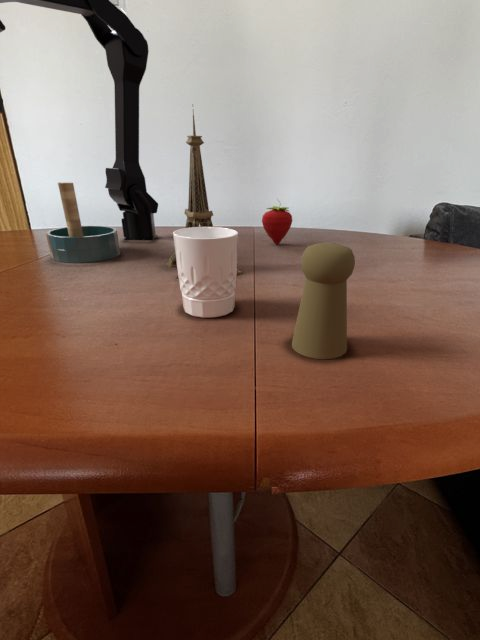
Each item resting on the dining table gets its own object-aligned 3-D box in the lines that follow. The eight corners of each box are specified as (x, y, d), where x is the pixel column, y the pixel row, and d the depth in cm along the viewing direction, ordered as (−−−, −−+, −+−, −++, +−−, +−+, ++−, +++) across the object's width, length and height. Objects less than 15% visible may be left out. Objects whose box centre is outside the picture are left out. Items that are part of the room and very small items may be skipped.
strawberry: (256, 243, 89) (256, 197, 84) (281, 240, 92) (283, 196, 88) (270, 248, 84) (272, 200, 80) (296, 244, 88) (299, 199, 83)
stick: (96, 254, 73) (83, 182, 67) (88, 260, 70) (73, 183, 64) (73, 254, 73) (58, 181, 67) (63, 260, 69) (46, 183, 63)
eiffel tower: (241, 273, 66) (240, 103, 54) (184, 281, 61) (169, 97, 49) (216, 260, 74) (210, 109, 62) (163, 266, 69) (147, 104, 57)
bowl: (128, 250, 79) (124, 226, 77) (109, 266, 68) (104, 237, 66) (68, 250, 79) (63, 225, 76) (40, 265, 68) (33, 236, 65)
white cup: (247, 303, 53) (247, 229, 48) (224, 324, 46) (221, 240, 42) (196, 296, 55) (192, 224, 50) (167, 314, 48) (159, 234, 44)
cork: (287, 334, 44) (293, 238, 39) (338, 333, 44) (351, 238, 39) (296, 359, 38) (304, 251, 33) (354, 358, 39) (370, 251, 34)
